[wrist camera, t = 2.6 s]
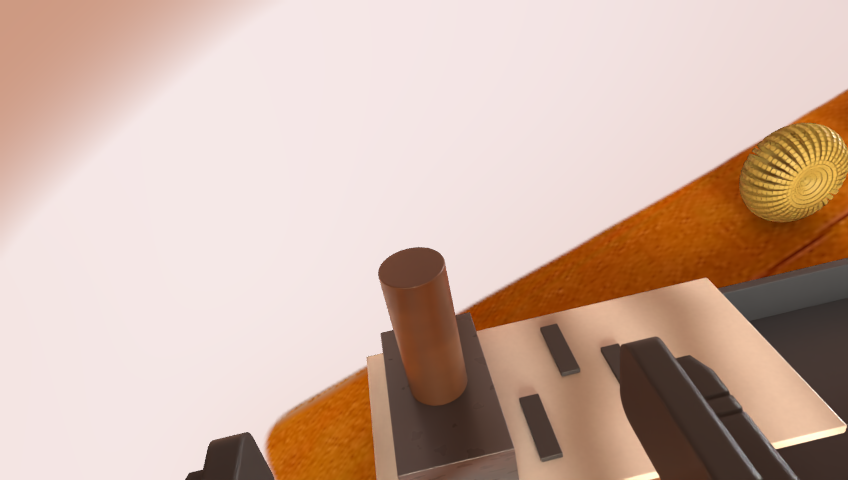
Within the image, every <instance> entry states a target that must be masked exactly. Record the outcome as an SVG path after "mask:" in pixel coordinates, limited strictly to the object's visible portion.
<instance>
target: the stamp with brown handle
mask: <svg viewBox="0 0 848 480" xmlns="http://www.w3.org/2000/svg"><path fill="white" fill-rule="evenodd" d="M378 276H379V280H380V283H381V287H382V290H383V294H384V297H385V301H386V305H387V308H388V312H389V315H390V319H391V322H392V326H393V330H392V331H387V332H383V333H381V339H382V348H383V357H384V365H385V374H386V383H387V391H388V400H389V408H390V417H391V425H392V434H393V442H394V451H395V459H396V468H397V476H398V479H399V480H519V475H518V468H517V461H516V454H515V448H514V445H513V442H512V439H511V436H510V433H509V429H508V426H507V423H506V420H505V417H504V414H503V411H502V408H501V405H500V402H499V399H498V396H497V393H496V390H495V387H494V384H493V381H492V378H491V375H490V372H489V369H488V365H487V362H486V359H485V356H484V353H483V350H482V347H481V344H480V341H479V338H478V335H477V332H476V329H475V326H474V323H473V320H472V317H471V314H470V312H469V313H464V314H460V315H456V316H455V312H454V307H453V302H452V297H451V292H450V286H449V281H448V276H447V271H446V266H445V261H444V258H443V257H442V255H441V254H440V253H439V252H437V251H435V250H433V249H429V248H422V247H421V248H420V247H418V248H409V249H405V250H402V251H399V252H397V253H395V254H393V255H391V256H389V257H388V258H387V259H386V260H385V261H384V262H383V263H382V264H381V266H380V268H379V272H378Z"/></svg>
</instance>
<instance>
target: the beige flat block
mask: <svg viewBox="0 0 848 480" xmlns="http://www.w3.org/2000/svg"><path fill="white" fill-rule="evenodd" d="M556 323H557V324H558V326H559V328H560V330H561V332H562V334H563V336H564V338H565V340H566V342H567V344H568V346H569V348H570V350H571V351H572V353H573V355H574V357H575V359H576V361H577V363H578V365H579V367H580V372H579V373H575V374H571V375H567V376H563V377H562V376H561V374H560V372H559V369H558V367H557V365H556V363H555V361H554V359H553V357H552V355H551V352H550V350H549V348H548V346H547V344H546V342H545V340H544V337H543V335H542V333H541V331H540V327H543V326H548V325H552V324H556ZM476 332H477V335H478V338H479V341H480V344H481V347H482V350H483V353H484V356H485V359H486V362H487V365H488V369H489V372H490V375H491V378H492V381H493V384H494V387H495V390H496V393H497V396H498V399H499V402H500V405H501V408H502V411H503V414H504V417H505V420H506V423H507V426H508V429H509V433H510V436H511V439H512V442H513V445H514V448H515V454H516V461H517V468H518V475H519V480H661V479H660V477H659V475H658V474H657V472H656V470H655V468H654V466H653V465H652V463H651V461H650V459H649V457H648V456H647V454H646V452H645V450H644V448H643V447H642V445H641V443H640V441H639V439H638V438H637V436H636V434H635V432H634V430H633V429H632V427H631V425H630V423H629V421H628V419H627V417H626V415H625V412H624V409H623V406H622V402H621V397H620V384H619V382H618V381H617V379H616V377H615V375H614V374H613V372H612V370H611V368H610V367H609V365H608V363H607V361H606V360H605V358H604V356H603V355H602V353H601V347H605V346H609V345H613V344H617V343H619V345H620V347H621V345H622V344H625V343H629V342H633V341H637V340H642V339H646V338H650V337H654V336H657V337H659V338H660V339H661V340H662V341H663V342H664V343H665V345H666V346H667V348H668V349H669V350H670V352H671V353H672V354H673V356H674V357H675V358H678V357H682V356H687V355H691V356H692V357H694V358H695V359H697V360H698V361H700V362H701V363H703V364H704V365H706V366H708V367H709V368H711V369H712V370H713V371H714V372H715V373H716V374H717V376H718V377H719V378H720V379H721V381H722V382H723V383H724V385H725V386H726V387H727V388H728V390H729V392H730V394H731V395H733V396H734V397H735V399H736V400H737V401H738V402H739V404H740V405H741V406H742V408H743V411H744V412H746V413H747V414H748V415H749V416H750V418H751V419H752V420H753V421H754V423H755V424H756V425H757V427H758V428H759V429H760V430H761V432H762V433H763V434H764V435H765V437H766V438H767V439H768V441H769V442H770V443H771V444H772V446H773V447H774V448H775V449H779V448H783V447H787V446H791V445H796V444H800V443H804V442H808V441H812V440H816V439H820V438H824V437H829V436H833V435H837V434H841V433H844V432H845V431H846V428H847V425H846V424H845V423H844V422H843V421H842V420H841V419H840V418H839V417H838V415H837V414H836V413H835V412H834V411H833V410H832V409H831V408H830V407H829V406H828V405H827V404H826V403H825V402H824V401H823V400H822V399H821V398H820V397H819V395H818V394H817V393H816V392H815V391H814V390H813V389H812V388H811V387H810V386H809V385H808V384H807V383H806V382H805V381H804V380H803V379H802V378H801V376H800V375H799V374H798V373H797V372H796V371H795V370H794V369H793V368H792V367H791V366H790V365H789V364H788V363H787V362H786V361H785V360H784V359H783V357H782V356H781V355H780V354H779V353H778V352H777V351H776V350H775V349H774V348H773V347H772V346H771V345H770V344H769V343H768V342H767V341H766V340H765V338H764V337H763V336H762V335H761V334H760V333H759V332H758V331H757V330H756V329H755V328H754V327H753V326H752V325H751V324H750V323H749V322H748V321H747V319H746V318H745V317H744V316H743V315H742V314H741V313H740V312H739V311H738V310H737V309H736V308H735V307H734V306H733V305H732V304H731V303H730V302H729V300H728V299H727V298H726V297H725V296H724V295H723V294H722V293H721V292H720V291H719V290H718V289H717V288H716V287H715V286H714V285H713V284H712V283H711V281H710V280H709V279H708V278H702V279H698V280H693V281H689V282H685V283H681V284H676V285H672V286H668V287H664V288H659V289H655V290H651V291H646V292H642V293H638V294H634V295H629V296H625V297H621V298H617V299H612V300H608V301H604V302H600V303H595V304H591V305H587V306H582V307H578V308H574V309H570V310H565V311H561V312H557V313H553V314H548V315H544V316H540V317H535V318H531V319H527V320H523V321H518V322H514V323H510V324H506V325H501V326H497V327H493V328H489V329H484V330H480V331H476ZM367 369H368V381H369V393H370V405H371V418H372V430H373V442H374V454H375V467H376V479H377V480H399V479H398V476H397V468H396V459H395V451H394V442H393V434H392V425H391V417H390V408H389V400H388V391H387V383H386V374H385V365H384V357H383V353H382V354H378V355H374V356H369V357H367ZM537 393H538V394H539V396H540V399H541V401H542V404H543V406H544V408H545V411H546V413H547V416H548V418H549V421H550V423H551V426H552V428H553V430H554V433H555V435H556V438H557V440H558V443H559V445H560V448H561V450H562V452H563V457H562V458H557V459H553V460H549V461H545V462H541V459H540V456H539V454H538V451H537V448H536V445H535V443H534V440H533V437H532V434H531V432H530V429H529V426H528V424H527V421H526V418H525V415H524V413H523V410H522V407H521V404H520V402H519V398H520V397H525V396H529V395H533V394H537Z"/></svg>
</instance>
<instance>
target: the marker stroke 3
mask: <svg viewBox="0 0 848 480" xmlns="http://www.w3.org/2000/svg"><path fill="white" fill-rule="evenodd" d="M601 353H602V355H603V356H604V358H605V360H606V361H607V363H608V365H609V367H610V368H611V370H612V372H613V374H614V375H615V377H616V379H617V381H618V382H619V384H620V345H619V343H617V344H613V345H609V346H605V347H601Z"/></svg>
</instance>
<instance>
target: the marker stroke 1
mask: <svg viewBox="0 0 848 480" xmlns="http://www.w3.org/2000/svg"><path fill="white" fill-rule="evenodd" d="M540 331H541V333H542V335H543V337H544V340H545V342H546V344H547V346H548V348H549V350H550V352H551V355H552V357H553V359H554V361H555V363H556V365H557V367H558V369H559V372H560V374H561V376H562V377H563V376H567V375H571V374H575V373H579V372H580V367H579V365H578V363H577V361H576V359H575V357H574V355H573V353H572V351H571V350H570V348H569V346H568V344H567V342H566V340H565V338H564V336H563V334H562V332H561V330H560V328H559V326H558V324H557V323H556V324H552V325H548V326H543V327H540Z"/></svg>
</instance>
